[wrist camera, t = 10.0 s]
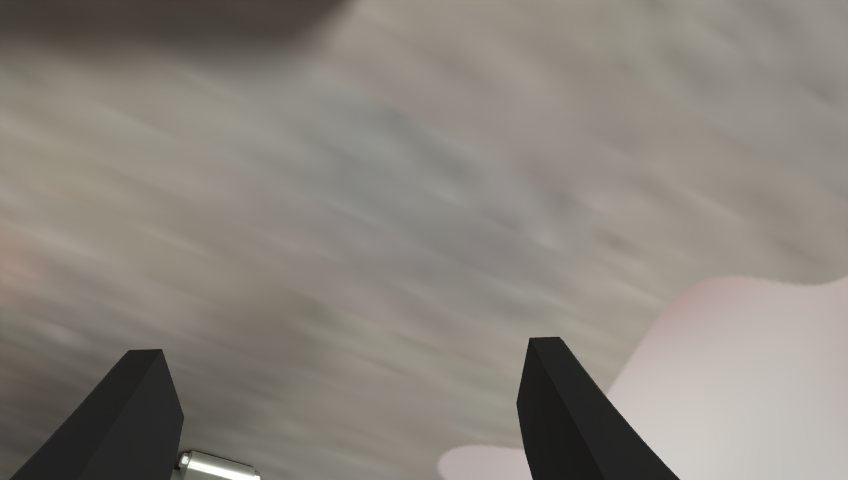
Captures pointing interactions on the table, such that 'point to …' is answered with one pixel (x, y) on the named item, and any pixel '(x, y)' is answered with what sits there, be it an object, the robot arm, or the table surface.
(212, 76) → the table surface
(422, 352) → the table surface
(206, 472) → the pneumatic valve
